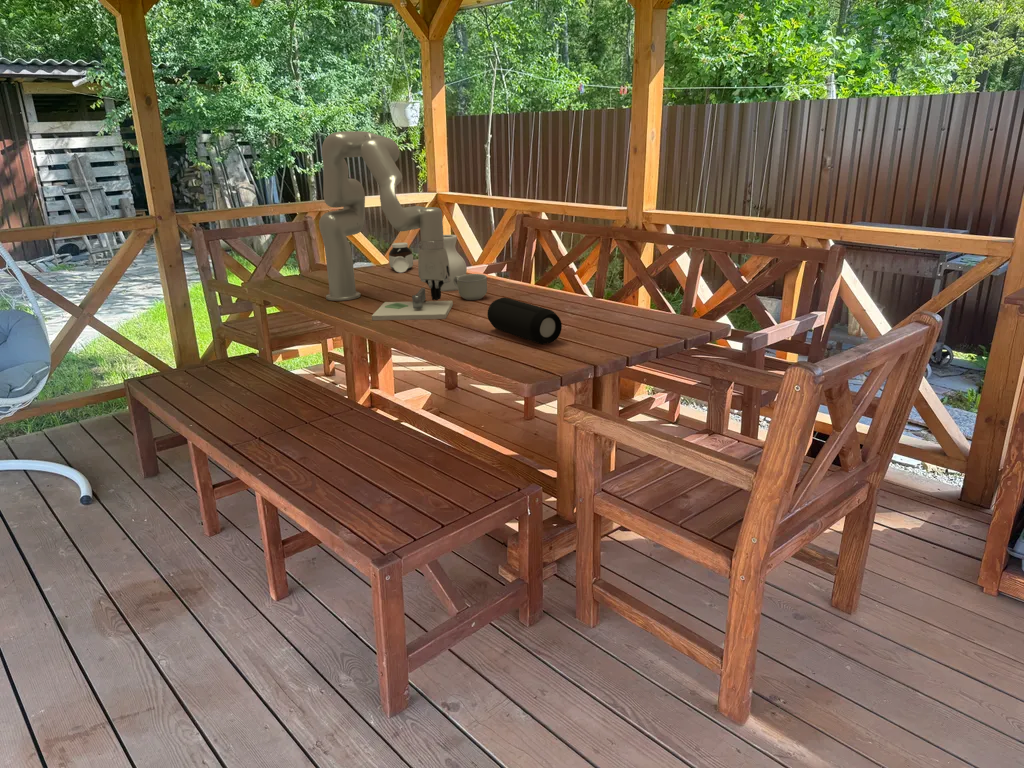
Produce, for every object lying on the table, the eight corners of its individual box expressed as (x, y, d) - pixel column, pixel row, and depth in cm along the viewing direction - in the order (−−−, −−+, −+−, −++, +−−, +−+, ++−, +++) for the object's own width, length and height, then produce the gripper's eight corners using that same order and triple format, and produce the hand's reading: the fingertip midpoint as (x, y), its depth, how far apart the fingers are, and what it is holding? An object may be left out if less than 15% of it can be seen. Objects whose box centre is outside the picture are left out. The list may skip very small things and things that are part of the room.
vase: (466, 291, 276) (463, 237, 269) (428, 292, 276) (424, 239, 270) (469, 283, 290) (466, 232, 283) (433, 284, 290) (429, 233, 283)
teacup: (493, 298, 263) (492, 276, 260) (470, 303, 256) (469, 280, 254) (470, 292, 273) (469, 271, 270) (446, 297, 266) (445, 275, 264)
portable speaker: (564, 342, 205) (564, 308, 202) (536, 349, 200) (535, 313, 197) (512, 325, 225) (511, 294, 222) (485, 331, 220) (484, 298, 217)
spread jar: (406, 267, 330) (404, 241, 326) (420, 270, 322) (418, 243, 318) (383, 271, 323) (381, 244, 319) (397, 274, 314) (395, 247, 311)
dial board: (384, 306, 256) (384, 301, 255) (452, 304, 254) (452, 299, 254) (372, 320, 237) (371, 314, 236) (445, 318, 236) (445, 313, 235)
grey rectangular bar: (419, 299, 254) (418, 287, 253) (428, 298, 254) (427, 287, 253) (412, 308, 240) (411, 296, 239) (421, 308, 240) (420, 296, 239)
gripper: (407, 246, 243) (411, 300, 249) (447, 247, 238) (450, 302, 244) (419, 243, 250) (422, 295, 256) (457, 244, 244) (460, 298, 250)
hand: (436, 299), depth 250 cm, fingers closed
